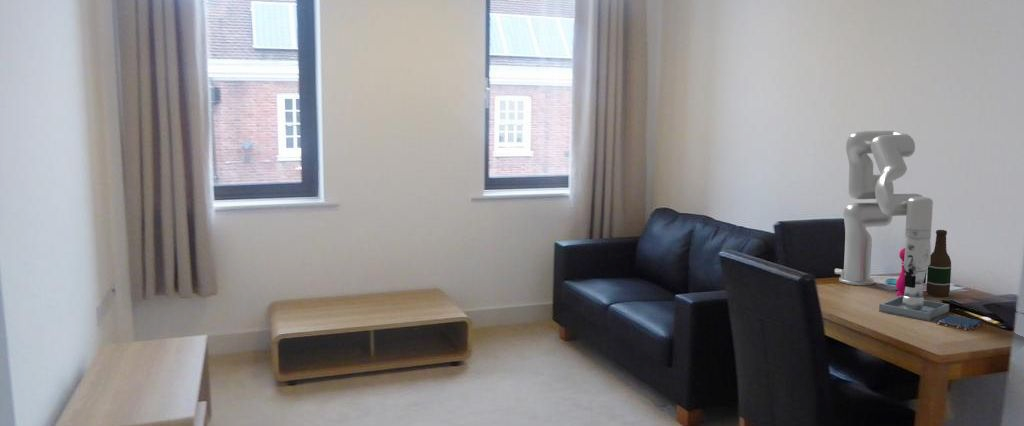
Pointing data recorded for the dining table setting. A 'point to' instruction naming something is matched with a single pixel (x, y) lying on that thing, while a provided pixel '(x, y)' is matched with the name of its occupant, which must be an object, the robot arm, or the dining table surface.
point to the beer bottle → (939, 268)
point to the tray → (926, 313)
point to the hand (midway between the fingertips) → (915, 284)
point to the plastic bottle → (915, 291)
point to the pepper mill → (901, 276)
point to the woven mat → (959, 322)
